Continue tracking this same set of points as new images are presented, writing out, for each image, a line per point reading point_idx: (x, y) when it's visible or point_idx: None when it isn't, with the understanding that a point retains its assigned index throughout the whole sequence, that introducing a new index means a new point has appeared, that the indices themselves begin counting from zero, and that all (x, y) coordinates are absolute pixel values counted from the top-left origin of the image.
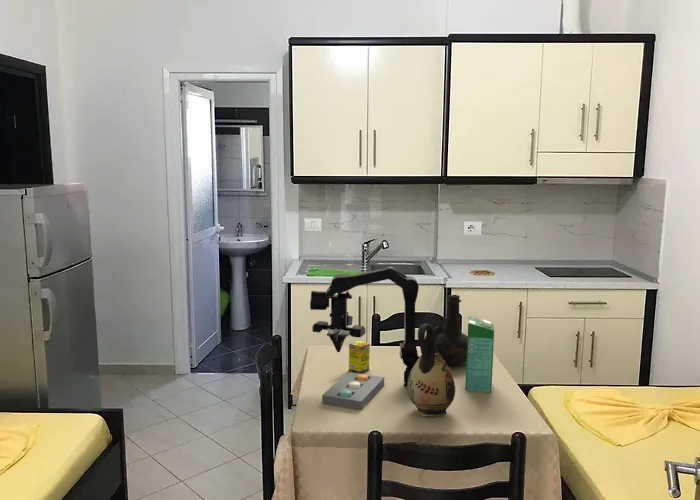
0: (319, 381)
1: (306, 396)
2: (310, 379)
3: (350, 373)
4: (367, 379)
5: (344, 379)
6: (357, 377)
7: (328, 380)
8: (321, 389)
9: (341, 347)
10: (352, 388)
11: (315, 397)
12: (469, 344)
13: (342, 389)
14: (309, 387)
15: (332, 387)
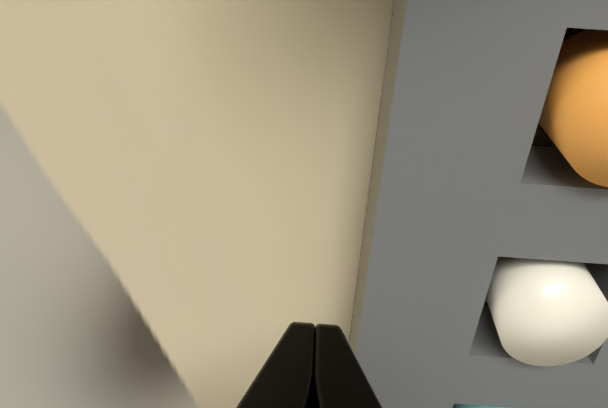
0: (129, 101)
1: (196, 374)
2: (20, 79)
3: (450, 10)
4: None
5: (421, 209)
6: (569, 163)
7: (197, 45)
8: (236, 255)
9: (371, 393)
10: None
11: None
12: None
13: (455, 392)
14: (127, 246)
15: None
